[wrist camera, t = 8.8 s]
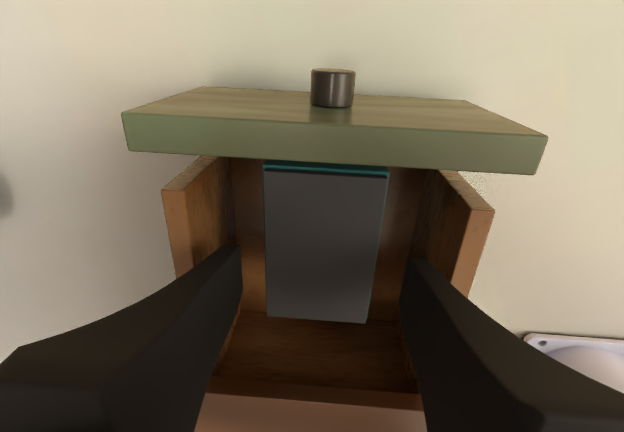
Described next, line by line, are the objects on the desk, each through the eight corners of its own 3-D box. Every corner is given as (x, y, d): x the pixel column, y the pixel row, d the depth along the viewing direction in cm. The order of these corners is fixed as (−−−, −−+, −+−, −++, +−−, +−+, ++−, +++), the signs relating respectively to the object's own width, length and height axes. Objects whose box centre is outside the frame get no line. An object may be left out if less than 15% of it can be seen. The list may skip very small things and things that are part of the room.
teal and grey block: (278, 137, 16) (259, 168, 12) (377, 143, 16) (391, 176, 12) (278, 261, 19) (264, 318, 15) (361, 267, 19) (367, 326, 15)
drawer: (197, 58, 15) (109, 67, 9) (473, 72, 15) (567, 90, 9) (223, 305, 22) (181, 403, 16) (413, 319, 22) (444, 426, 16)
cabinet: (215, 268, 22) (151, 388, 14) (426, 283, 21) (477, 416, 14) (230, 409, 29) (192, 542, 21) (391, 422, 28) (413, 564, 20)
